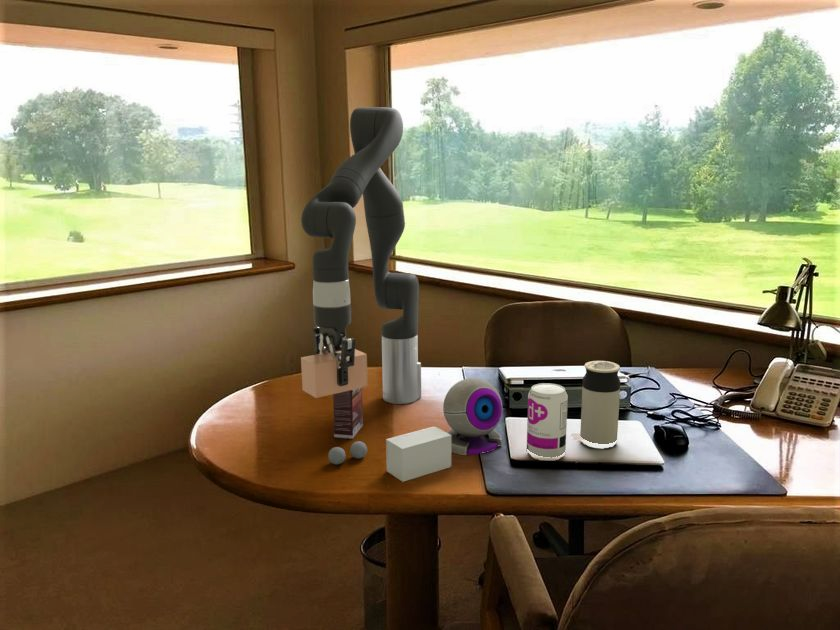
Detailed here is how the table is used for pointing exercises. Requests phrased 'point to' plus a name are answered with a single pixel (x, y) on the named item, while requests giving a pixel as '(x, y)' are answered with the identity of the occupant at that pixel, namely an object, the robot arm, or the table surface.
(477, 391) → the webcam
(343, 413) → the supplement box
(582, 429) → the travel mug
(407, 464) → the white rectangular eraser
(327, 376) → the peach rectangular block
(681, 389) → the table surface
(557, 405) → the supplement can
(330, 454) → the slate ball
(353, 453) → the slate ball
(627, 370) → the table surface
